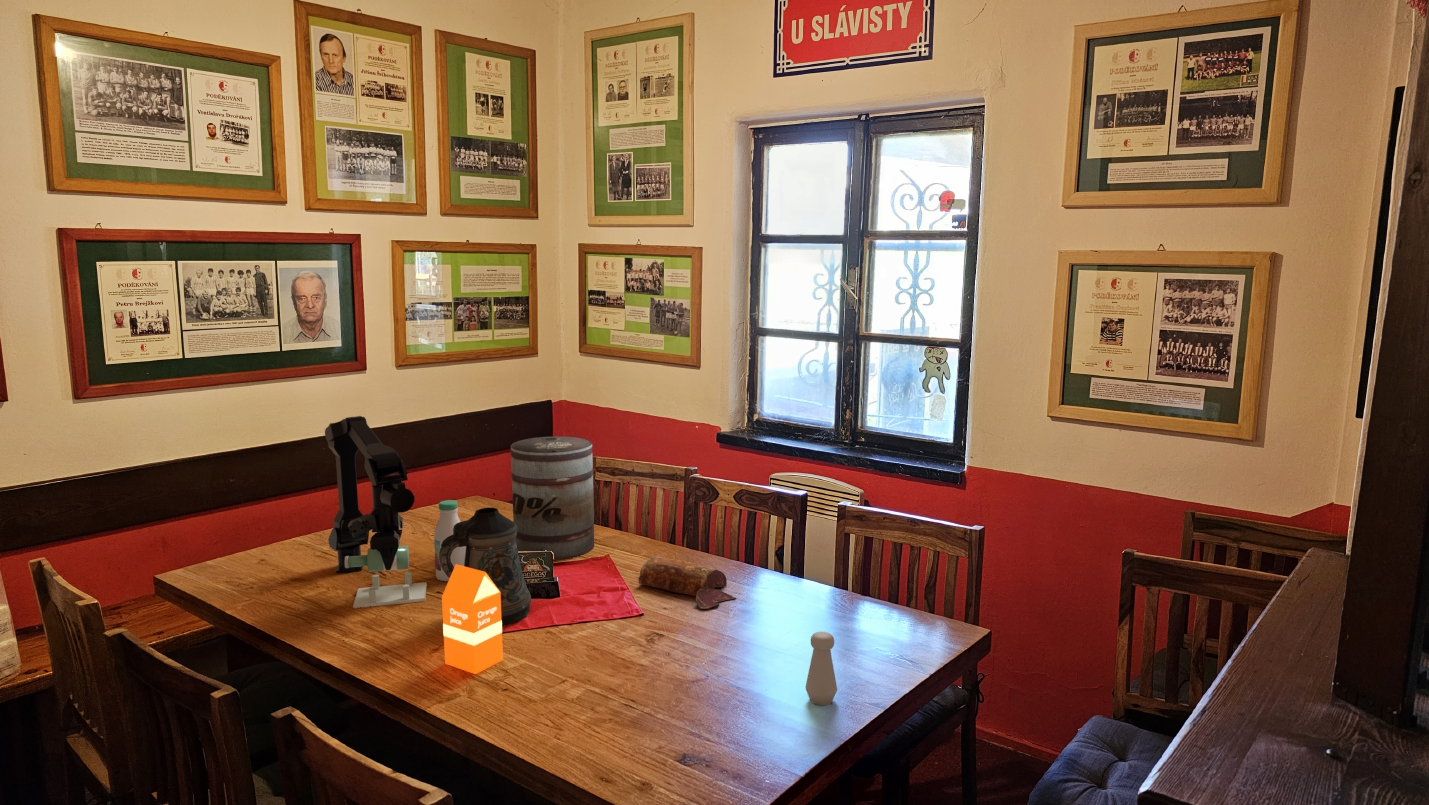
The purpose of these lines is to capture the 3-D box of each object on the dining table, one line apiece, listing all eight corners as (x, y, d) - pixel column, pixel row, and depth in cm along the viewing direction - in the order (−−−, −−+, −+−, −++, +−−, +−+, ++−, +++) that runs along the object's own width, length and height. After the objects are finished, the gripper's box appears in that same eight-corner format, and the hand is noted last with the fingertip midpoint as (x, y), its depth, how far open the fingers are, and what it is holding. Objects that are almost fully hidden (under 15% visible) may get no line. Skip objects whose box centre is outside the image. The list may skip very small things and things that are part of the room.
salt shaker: (803, 693, 167) (804, 628, 165) (832, 692, 168) (834, 627, 165) (808, 708, 161) (810, 641, 159) (839, 707, 162) (841, 640, 160)
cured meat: (713, 614, 205) (713, 585, 204) (627, 593, 218) (627, 566, 217) (751, 591, 220) (752, 565, 219) (669, 573, 233) (669, 548, 232)
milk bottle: (471, 572, 232) (468, 498, 228) (460, 582, 224) (456, 506, 221) (443, 571, 232) (439, 497, 229) (431, 581, 225) (427, 505, 222)
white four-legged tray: (353, 608, 207) (352, 592, 207) (358, 591, 218) (357, 576, 217) (424, 601, 212) (424, 585, 211) (426, 585, 222) (425, 570, 222)
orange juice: (475, 674, 174) (470, 578, 171) (444, 663, 179) (439, 569, 176) (503, 659, 181) (500, 566, 178) (473, 649, 186) (469, 558, 182)
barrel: (501, 544, 254) (497, 442, 249) (571, 530, 267) (568, 433, 263) (535, 566, 236) (532, 456, 231) (608, 549, 250) (606, 446, 245)
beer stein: (545, 607, 208) (542, 504, 204) (492, 639, 191) (488, 527, 187) (489, 596, 215) (485, 496, 211) (433, 625, 198) (427, 517, 194)
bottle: (409, 563, 218) (408, 541, 217) (408, 572, 212) (406, 549, 211) (347, 569, 214) (346, 546, 213) (344, 577, 209) (343, 554, 208)
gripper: (354, 495, 218) (357, 556, 220) (344, 516, 200) (348, 582, 203) (401, 492, 221) (405, 552, 223) (396, 513, 203) (400, 578, 206)
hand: (389, 565), depth 214 cm, fingers closed on bottle, 6 cm apart
